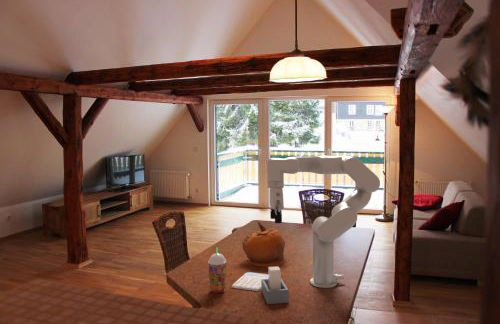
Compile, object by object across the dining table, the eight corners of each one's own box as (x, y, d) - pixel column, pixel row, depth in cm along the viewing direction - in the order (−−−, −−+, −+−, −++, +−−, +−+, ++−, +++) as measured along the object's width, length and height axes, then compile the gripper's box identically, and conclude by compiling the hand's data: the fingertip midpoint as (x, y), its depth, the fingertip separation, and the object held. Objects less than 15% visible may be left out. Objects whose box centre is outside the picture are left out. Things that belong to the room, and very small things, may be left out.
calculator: (231, 289, 180) (231, 284, 180) (246, 274, 199) (246, 271, 199) (258, 292, 175) (258, 288, 175) (271, 277, 194) (271, 273, 194)
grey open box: (281, 289, 177) (280, 277, 176) (288, 302, 163) (288, 289, 163) (261, 291, 175) (261, 279, 175) (267, 304, 162) (267, 291, 161)
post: (278, 293, 172) (278, 266, 171) (280, 297, 167) (280, 269, 167) (268, 293, 171) (268, 267, 170) (270, 298, 167) (270, 270, 166)
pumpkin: (236, 262, 217) (236, 222, 215) (261, 251, 237) (261, 215, 236) (271, 270, 204) (270, 227, 202) (294, 257, 224) (293, 219, 223)
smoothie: (205, 293, 174) (204, 249, 173) (213, 286, 182) (212, 244, 181) (222, 295, 171) (221, 250, 170) (229, 288, 179) (229, 245, 178)
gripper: (288, 186, 173) (288, 224, 174) (279, 182, 190) (279, 216, 191) (271, 187, 172) (271, 225, 173) (264, 182, 189) (264, 217, 190)
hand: (276, 220), depth 182 cm, fingers open, 9 cm apart
